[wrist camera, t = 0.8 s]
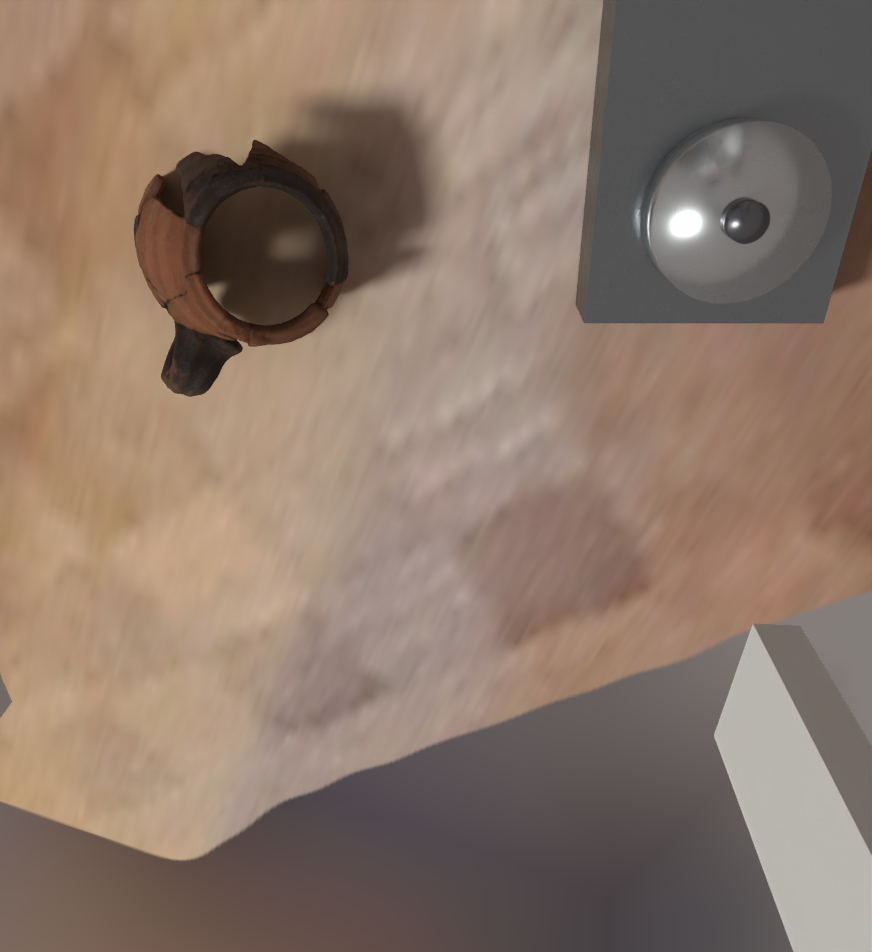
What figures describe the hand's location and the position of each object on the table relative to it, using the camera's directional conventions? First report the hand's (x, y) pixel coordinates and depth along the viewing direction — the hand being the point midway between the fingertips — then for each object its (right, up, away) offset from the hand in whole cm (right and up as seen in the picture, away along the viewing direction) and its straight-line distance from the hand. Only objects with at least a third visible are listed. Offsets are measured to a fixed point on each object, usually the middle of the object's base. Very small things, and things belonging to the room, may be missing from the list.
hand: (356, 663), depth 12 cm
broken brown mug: (-8, +14, +23) cm, 28 cm away
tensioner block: (+14, +21, +18) cm, 30 cm away
